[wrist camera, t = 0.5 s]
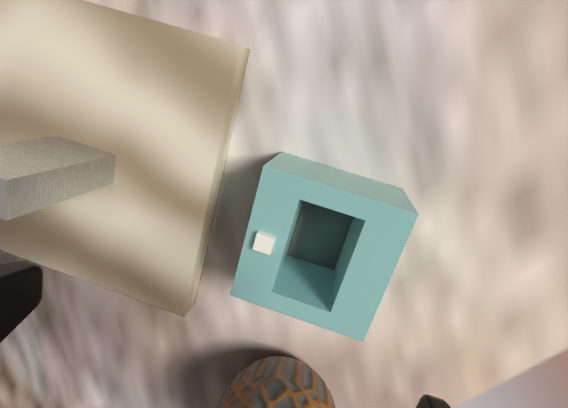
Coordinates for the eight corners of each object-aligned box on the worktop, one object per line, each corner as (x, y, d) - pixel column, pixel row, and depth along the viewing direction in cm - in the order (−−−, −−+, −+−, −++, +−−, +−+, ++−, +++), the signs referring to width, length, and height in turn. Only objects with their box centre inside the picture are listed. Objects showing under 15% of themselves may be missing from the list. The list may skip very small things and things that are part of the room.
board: (195, 302, 21) (184, 316, 20) (0, 232, 22) (-24, 241, 21) (249, 49, 16) (240, 44, 15) (-4, -22, 18) (-35, -33, 16)
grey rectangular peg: (113, 183, 18) (7, 220, 12) (57, 164, 18) (-73, 192, 13) (116, 154, 18) (6, 180, 12) (58, 135, 18) (-76, 152, 12)
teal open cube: (360, 294, 19) (363, 346, 15) (252, 257, 20) (228, 298, 16) (402, 189, 17) (419, 216, 13) (281, 151, 18) (261, 167, 13)
